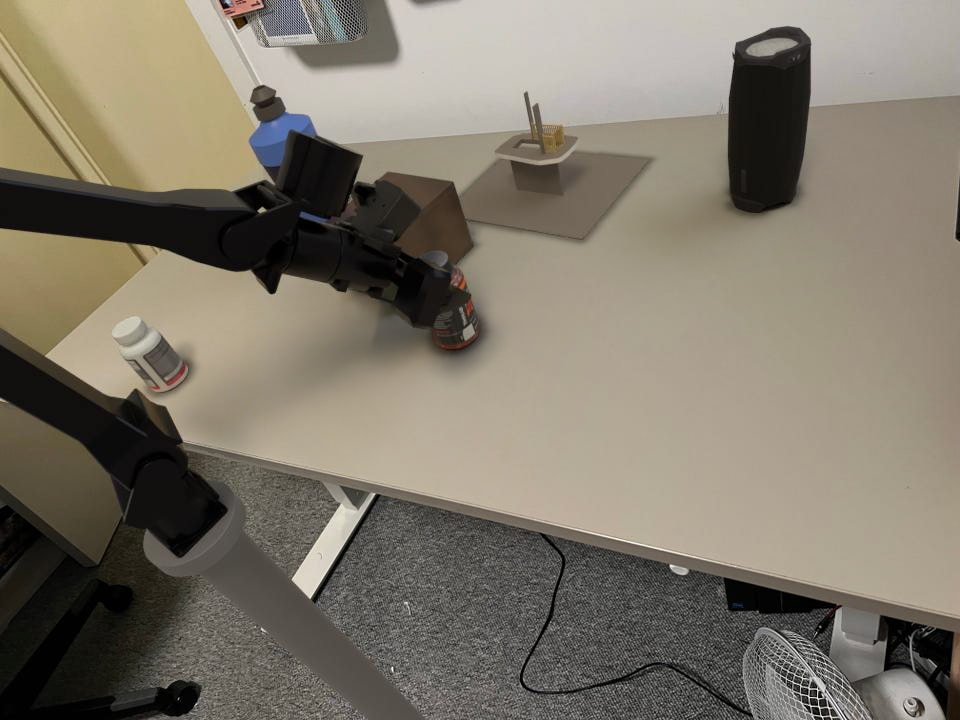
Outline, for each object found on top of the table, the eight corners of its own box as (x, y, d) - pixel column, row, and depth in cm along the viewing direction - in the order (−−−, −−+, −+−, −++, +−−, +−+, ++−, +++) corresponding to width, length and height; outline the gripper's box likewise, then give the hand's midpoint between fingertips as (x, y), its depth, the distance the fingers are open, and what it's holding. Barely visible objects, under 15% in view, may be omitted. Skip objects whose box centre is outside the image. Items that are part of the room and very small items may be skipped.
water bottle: (368, 237, 100) (299, 80, 83) (316, 265, 98) (235, 109, 81) (348, 217, 107) (280, 67, 90) (298, 242, 105) (220, 94, 88)
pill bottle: (189, 359, 88) (147, 306, 82) (189, 383, 84) (145, 329, 78) (152, 375, 88) (107, 323, 81) (150, 399, 84) (103, 347, 77)
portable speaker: (768, 171, 86) (780, 17, 73) (816, 199, 79) (838, 36, 66) (711, 193, 85) (713, 43, 72) (754, 224, 78) (764, 65, 65)
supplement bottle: (487, 340, 75) (462, 265, 68) (440, 358, 75) (410, 284, 68) (474, 312, 80) (449, 238, 72) (430, 329, 80) (400, 257, 72)
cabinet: (414, 305, 84) (386, 239, 77) (352, 285, 91) (321, 223, 84) (473, 246, 91) (453, 181, 84) (411, 232, 98) (387, 171, 91)
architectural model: (513, 148, 109) (495, 65, 100) (649, 159, 96) (642, 65, 86) (442, 215, 99) (414, 130, 90) (582, 239, 85) (566, 142, 76)
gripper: (402, 202, 54) (525, 243, 64) (313, 152, 66) (428, 194, 77) (359, 320, 57) (484, 341, 67) (282, 251, 69) (397, 278, 80)
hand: (446, 283), depth 73 cm, fingers open, 9 cm apart
